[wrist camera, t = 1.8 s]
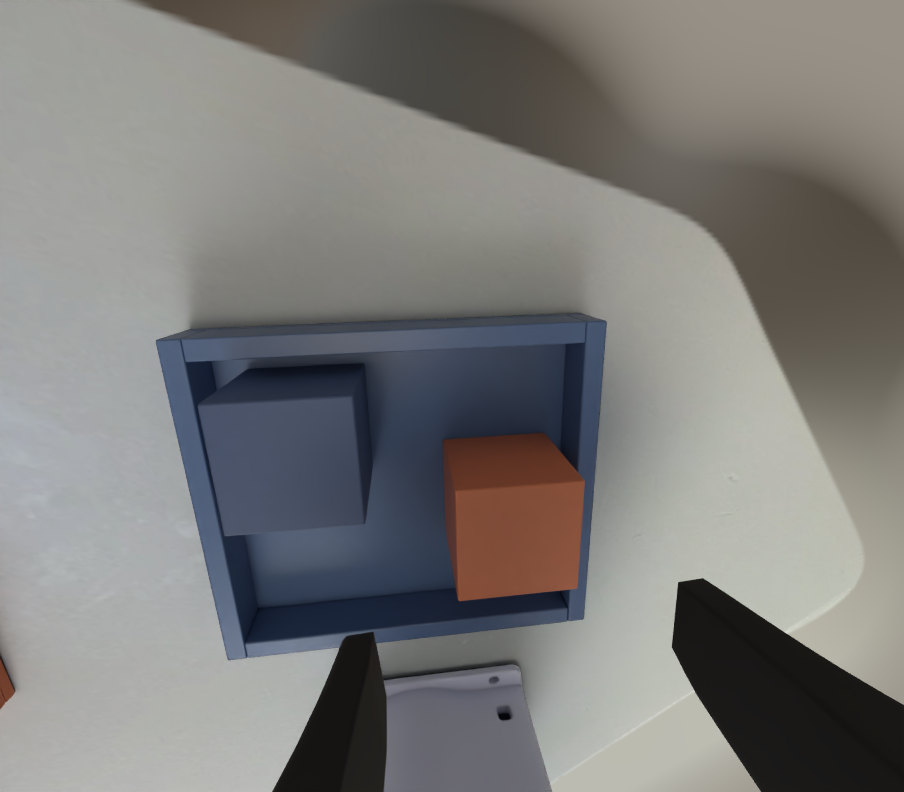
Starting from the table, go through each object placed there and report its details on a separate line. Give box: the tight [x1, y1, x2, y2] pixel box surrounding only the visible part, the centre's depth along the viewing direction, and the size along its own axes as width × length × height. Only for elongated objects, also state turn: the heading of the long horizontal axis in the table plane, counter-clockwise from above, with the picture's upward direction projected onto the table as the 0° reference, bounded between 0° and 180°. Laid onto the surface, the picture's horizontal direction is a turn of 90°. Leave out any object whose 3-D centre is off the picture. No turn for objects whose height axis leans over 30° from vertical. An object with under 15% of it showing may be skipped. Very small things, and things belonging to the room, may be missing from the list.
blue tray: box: [156, 313, 607, 660], centre depth 19 cm, size 16×14×2 cm
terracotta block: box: [443, 433, 585, 601], centre depth 18 cm, size 4×4×4 cm
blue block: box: [198, 363, 373, 536], centre depth 16 cm, size 4×4×4 cm
